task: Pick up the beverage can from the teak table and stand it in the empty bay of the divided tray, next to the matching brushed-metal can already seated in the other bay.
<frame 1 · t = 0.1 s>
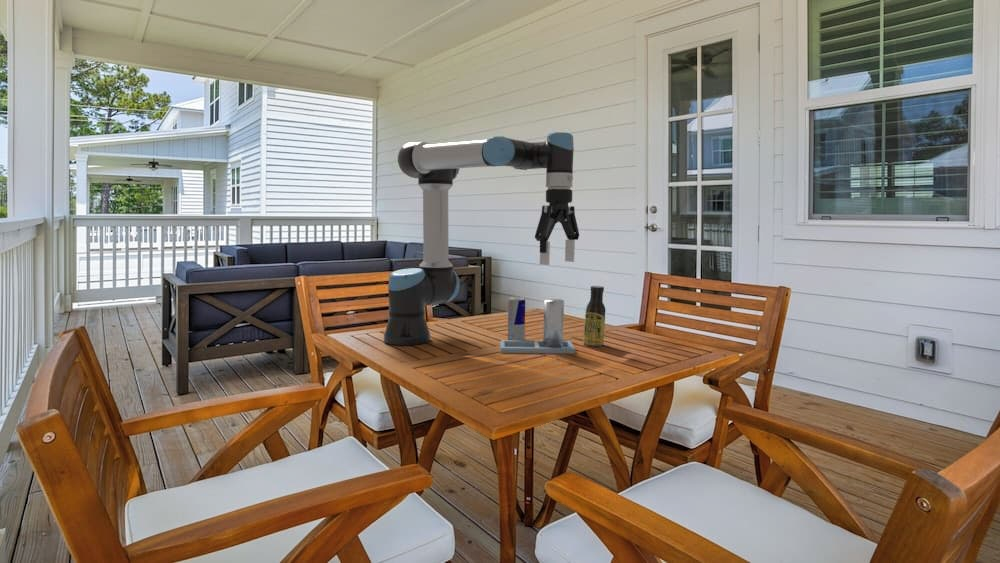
hand: (557, 263, 158), 28 cm above the table, fingers open, 13 cm apart
sauce bottle: (593, 349, 172), on the table
beverage can: (516, 343, 178), on the table
divided tray: (536, 352, 166), on the table
twin can: (552, 348, 166), point 1 cm above the table, touching divided tray
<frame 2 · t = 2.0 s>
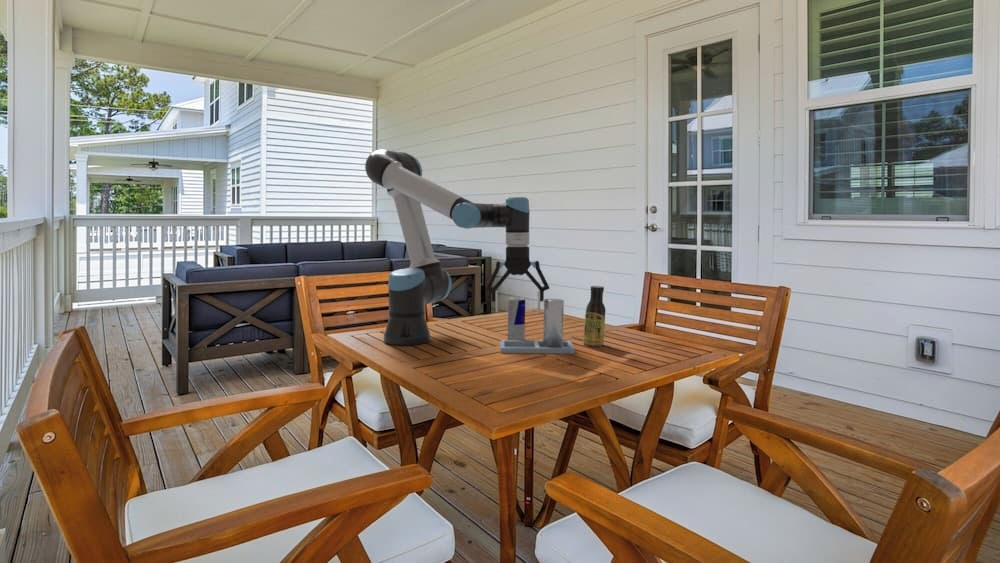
hand: (517, 311, 176), 11 cm above the table, fingers open, 13 cm apart
nothing on the table moved.
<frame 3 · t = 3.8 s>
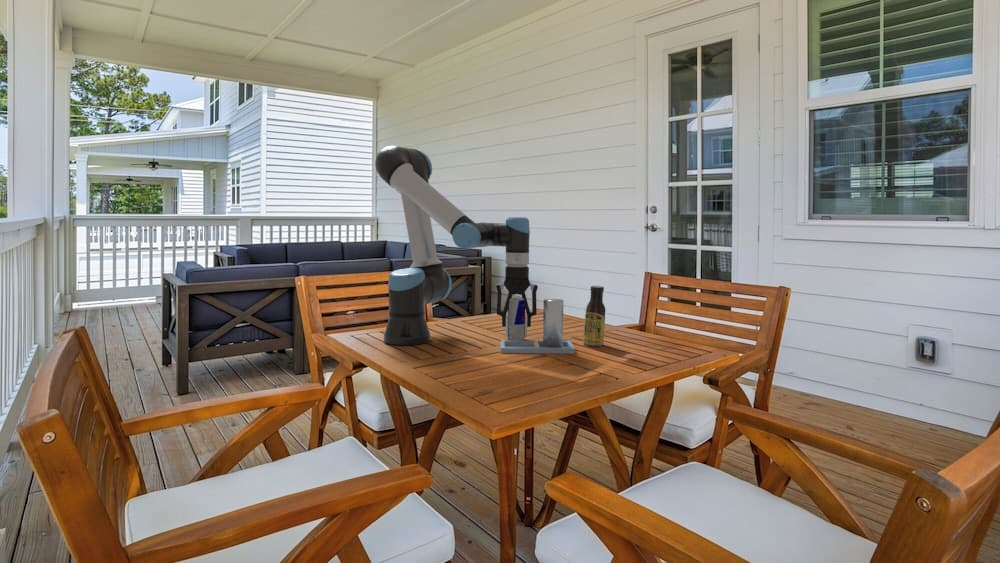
hand: (516, 336, 178), 2 cm above the table, fingers closed on beverage can, 5 cm apart
beverage can: (516, 343, 178), on the table, touching gripper
everything else where it was.
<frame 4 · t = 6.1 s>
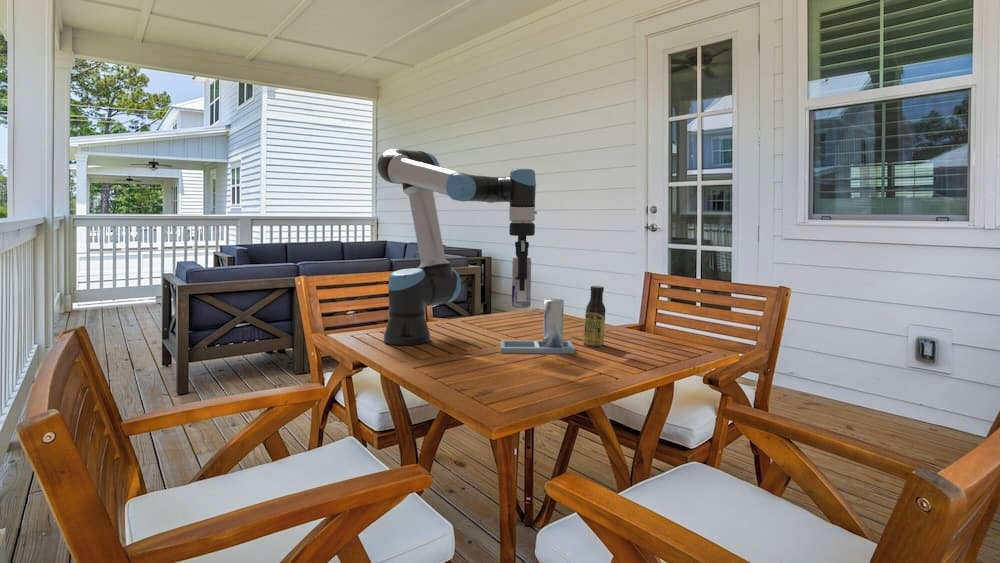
hand: (521, 299, 164), 16 cm above the table, fingers closed on beverage can, 5 cm apart
beverage can: (521, 307, 164), point 14 cm above the table, touching gripper
everything else where it was.
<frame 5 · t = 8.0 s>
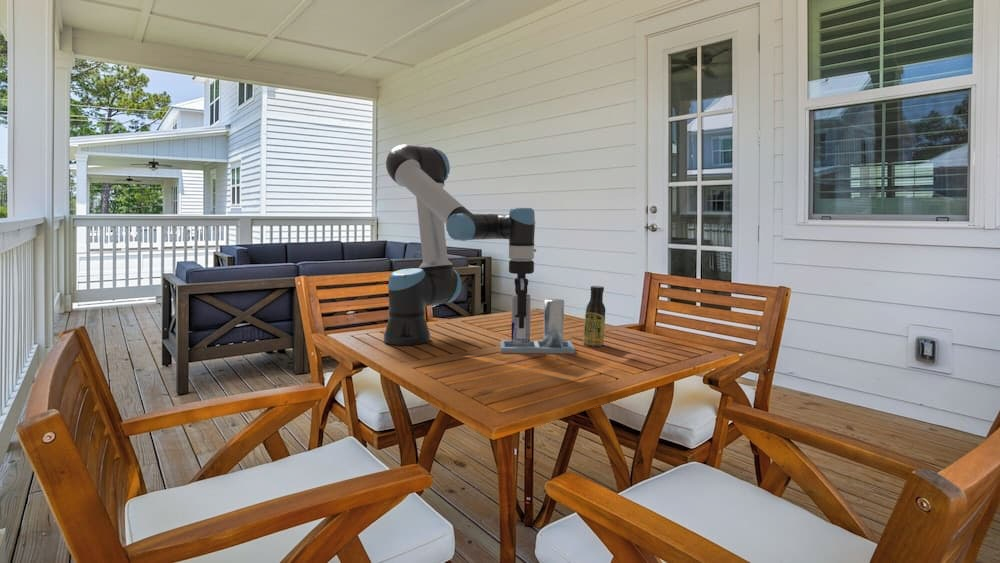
hand: (520, 336, 165), 5 cm above the table, fingers closed on beverage can, 5 cm apart
beverage can: (520, 344, 166), point 3 cm above the table, touching gripper
everything else where it was.
when the fingers open (5 cm above the table, at t = 8.8 s): beverage can drops 1 cm, resting on divided tray.
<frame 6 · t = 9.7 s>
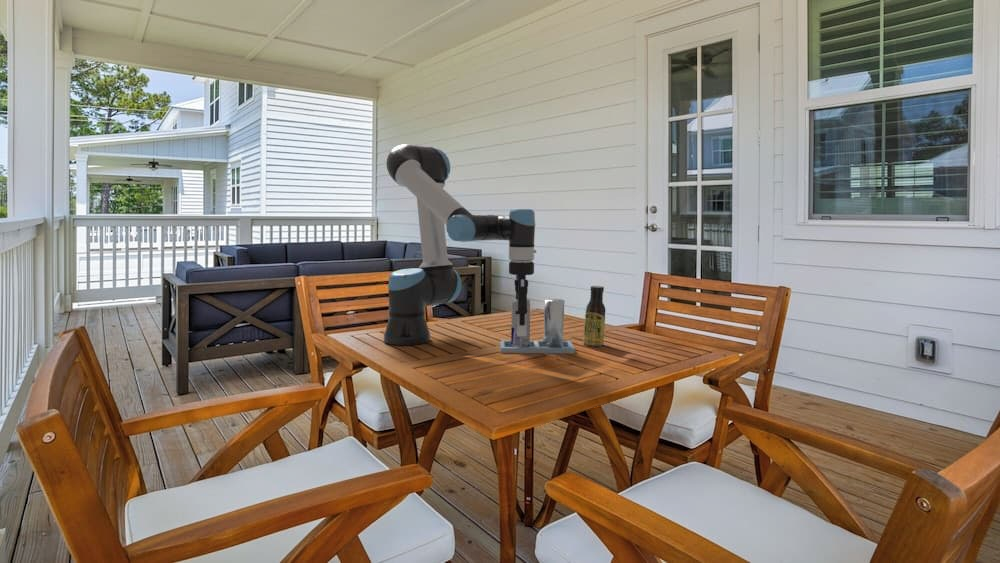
hand: (520, 331, 165), 7 cm above the table, fingers open, 13 cm apart
beverage can: (520, 349, 166), point 1 cm above the table, touching divided tray
everything else where it was.
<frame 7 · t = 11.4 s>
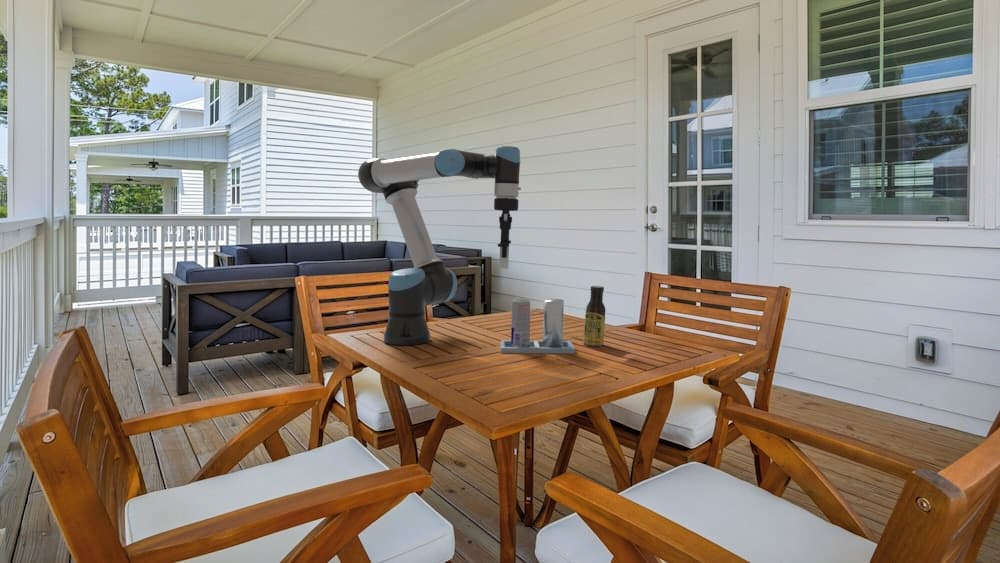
hand: (503, 266, 171), 26 cm above the table, fingers open, 13 cm apart
nothing on the table moved.
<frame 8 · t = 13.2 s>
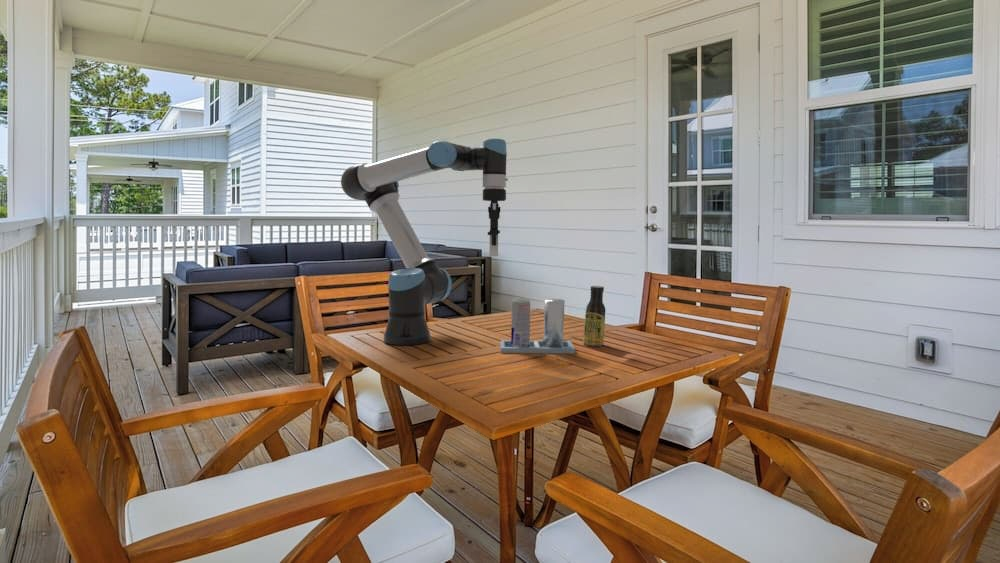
hand: (493, 254, 178), 29 cm above the table, fingers open, 13 cm apart
nothing on the table moved.
at the end: beverage can 0.1 cm from the target spot, point 1.0 cm above the table; beverage can tilted 0°; the gripper is holding nothing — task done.
